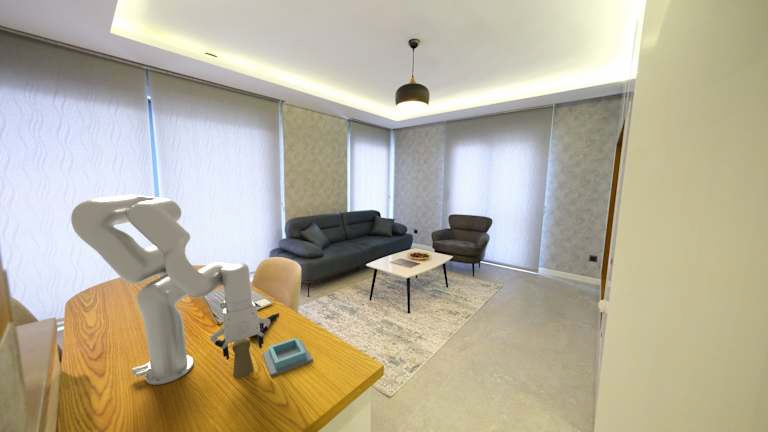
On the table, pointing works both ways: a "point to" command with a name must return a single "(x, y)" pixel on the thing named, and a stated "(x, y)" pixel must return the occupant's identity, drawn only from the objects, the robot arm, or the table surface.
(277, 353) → the socket
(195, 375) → the table surface
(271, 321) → the microphone
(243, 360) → the cork
